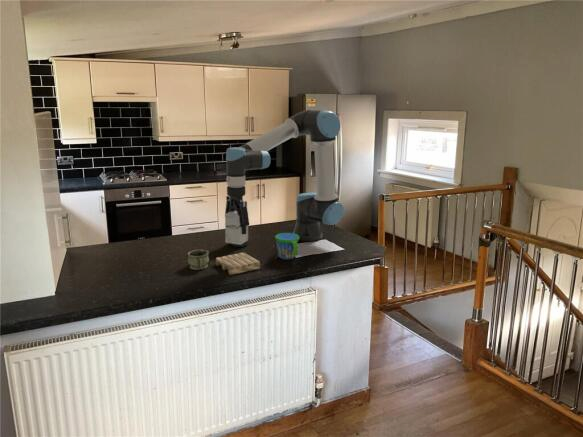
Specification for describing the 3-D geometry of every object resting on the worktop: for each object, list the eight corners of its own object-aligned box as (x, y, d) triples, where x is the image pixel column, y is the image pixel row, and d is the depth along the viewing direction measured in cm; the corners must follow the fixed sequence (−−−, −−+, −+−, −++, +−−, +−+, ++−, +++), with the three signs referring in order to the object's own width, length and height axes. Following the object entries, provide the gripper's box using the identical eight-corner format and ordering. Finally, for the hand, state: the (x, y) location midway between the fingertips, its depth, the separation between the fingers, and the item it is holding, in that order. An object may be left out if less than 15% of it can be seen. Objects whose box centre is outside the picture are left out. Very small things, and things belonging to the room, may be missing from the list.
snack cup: (305, 261, 206) (305, 239, 203) (283, 264, 201) (283, 242, 199) (290, 250, 219) (290, 230, 217) (269, 253, 215) (269, 232, 212)
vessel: (211, 270, 195) (211, 256, 193) (190, 272, 192) (189, 258, 190) (206, 260, 205) (205, 247, 204) (186, 263, 202) (185, 249, 201)
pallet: (244, 258, 208) (244, 252, 207) (260, 268, 197) (260, 261, 196) (215, 264, 201) (215, 258, 200) (230, 274, 189) (230, 268, 189)
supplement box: (224, 243, 194) (224, 213, 190) (233, 238, 200) (233, 209, 197) (240, 245, 191) (240, 215, 188) (248, 240, 198) (248, 211, 194)
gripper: (215, 182, 196) (217, 232, 202) (241, 191, 179) (241, 246, 184) (231, 180, 201) (232, 230, 206) (257, 189, 183) (258, 243, 188)
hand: (237, 237), depth 195 cm, fingers closed on supplement box, 10 cm apart
